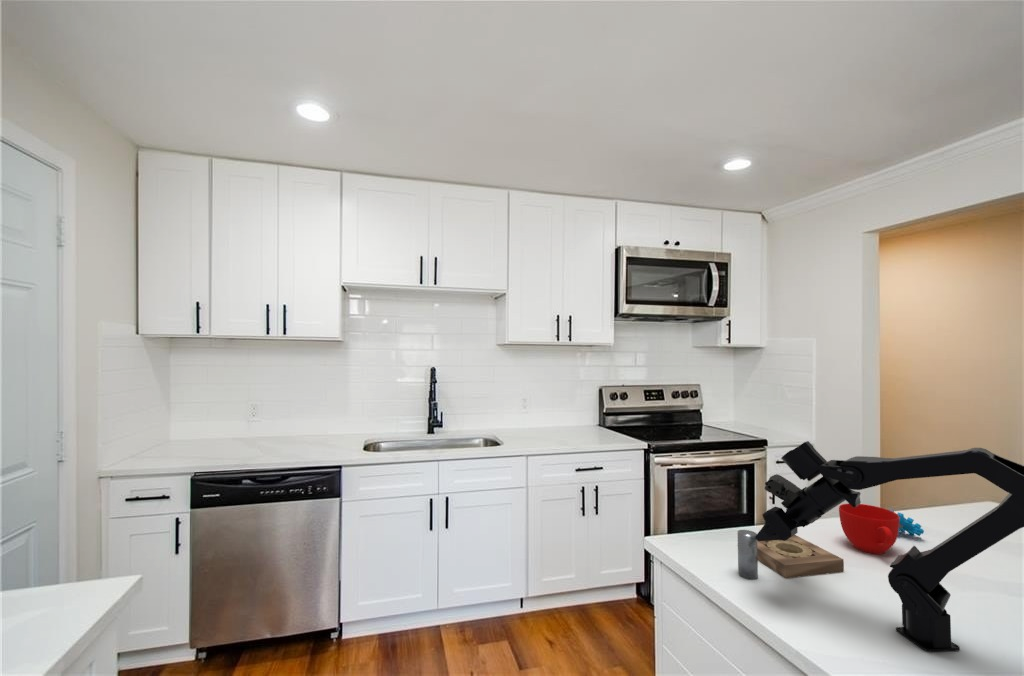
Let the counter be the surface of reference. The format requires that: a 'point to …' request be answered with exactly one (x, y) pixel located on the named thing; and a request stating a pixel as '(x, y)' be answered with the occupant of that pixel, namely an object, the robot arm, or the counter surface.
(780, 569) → the bearing housing
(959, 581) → the counter surface
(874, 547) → the ceramic cup
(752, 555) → the steel roller
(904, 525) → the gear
